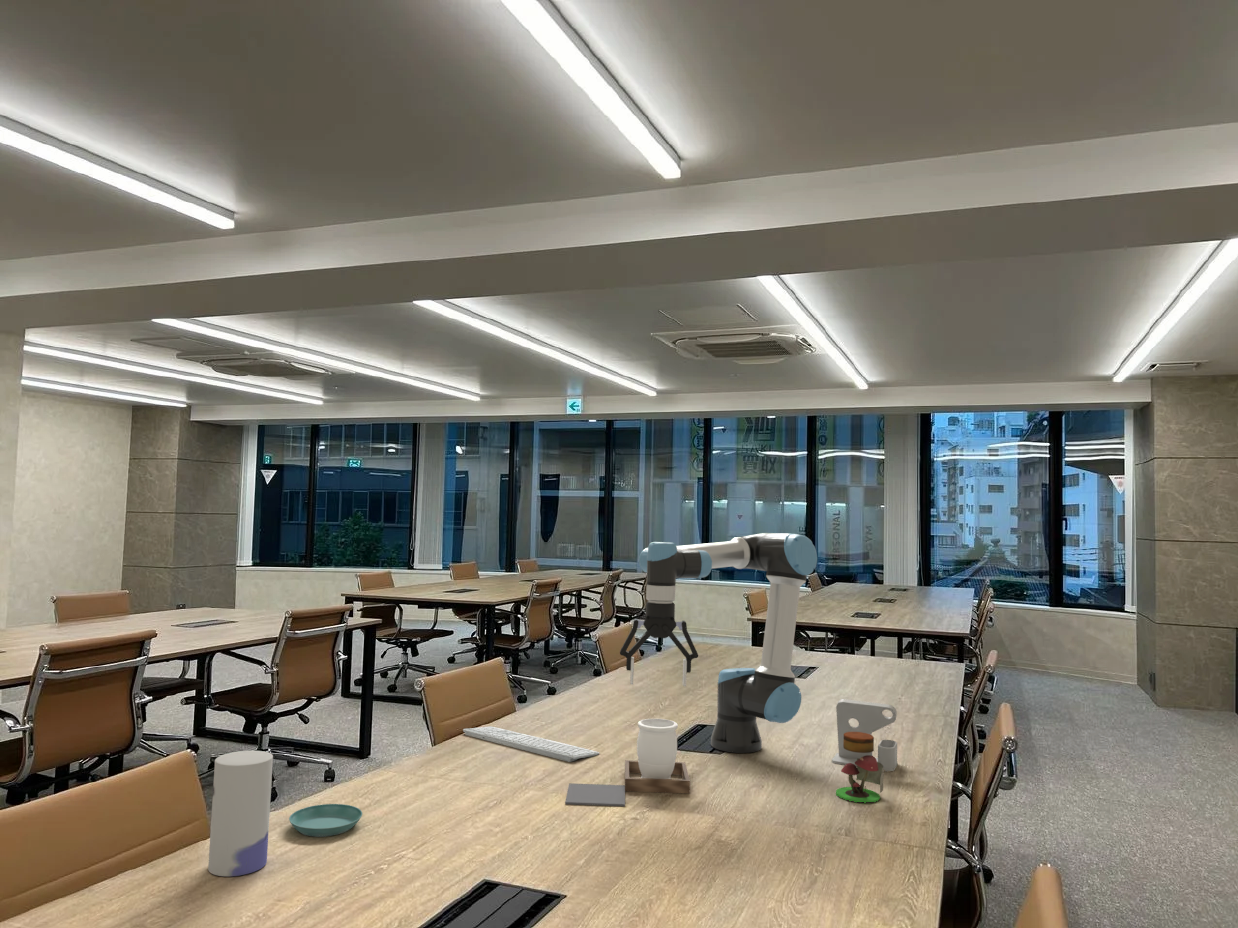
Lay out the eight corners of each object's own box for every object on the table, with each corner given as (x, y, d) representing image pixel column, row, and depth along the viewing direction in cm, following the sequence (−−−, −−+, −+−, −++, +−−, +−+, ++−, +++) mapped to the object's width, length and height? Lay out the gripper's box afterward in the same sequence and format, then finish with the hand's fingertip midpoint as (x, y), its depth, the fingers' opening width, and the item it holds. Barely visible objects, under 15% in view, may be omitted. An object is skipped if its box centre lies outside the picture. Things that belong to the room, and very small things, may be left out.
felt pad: (624, 787, 210) (624, 785, 210) (624, 806, 196) (625, 804, 196) (569, 785, 210) (569, 783, 210) (565, 804, 196) (565, 801, 196)
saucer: (319, 847, 167) (320, 833, 168) (273, 830, 175) (273, 817, 175) (376, 825, 180) (377, 812, 180) (330, 810, 188) (331, 798, 188)
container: (220, 855, 161) (227, 749, 162) (273, 855, 162) (280, 749, 163) (198, 877, 151) (206, 764, 153) (256, 877, 152) (262, 764, 153)
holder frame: (684, 773, 223) (685, 762, 223) (689, 793, 207) (689, 780, 207) (624, 771, 223) (625, 760, 223) (624, 791, 207) (625, 778, 207)
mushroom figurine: (859, 808, 200) (860, 744, 201) (824, 791, 211) (825, 731, 212) (896, 801, 206) (897, 739, 207) (859, 786, 217) (860, 727, 218)
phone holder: (899, 763, 239) (899, 699, 240) (894, 772, 230) (895, 706, 231) (837, 754, 247) (838, 692, 248) (830, 763, 237) (831, 698, 239)
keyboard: (600, 755, 239) (600, 747, 239) (572, 765, 229) (572, 756, 229) (490, 728, 266) (491, 721, 266) (461, 735, 256) (461, 728, 256)
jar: (673, 790, 209) (674, 729, 210) (632, 786, 211) (634, 725, 212) (678, 777, 219) (680, 719, 220) (639, 774, 221) (641, 716, 222)
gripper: (707, 601, 222) (704, 683, 220) (612, 598, 222) (610, 679, 221) (709, 604, 214) (707, 688, 213) (612, 601, 214) (609, 685, 213)
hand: (658, 684), depth 217 cm, fingers open, 13 cm apart
